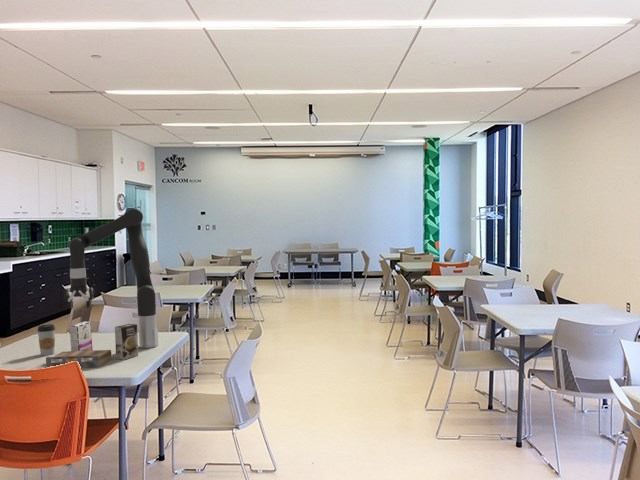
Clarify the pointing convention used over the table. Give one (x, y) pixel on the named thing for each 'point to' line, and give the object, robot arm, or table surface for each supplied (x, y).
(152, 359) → the table surface
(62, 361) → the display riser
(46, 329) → the coffee cup
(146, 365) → the table surface
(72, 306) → the robot arm
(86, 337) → the candy bar box
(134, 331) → the coffee box
